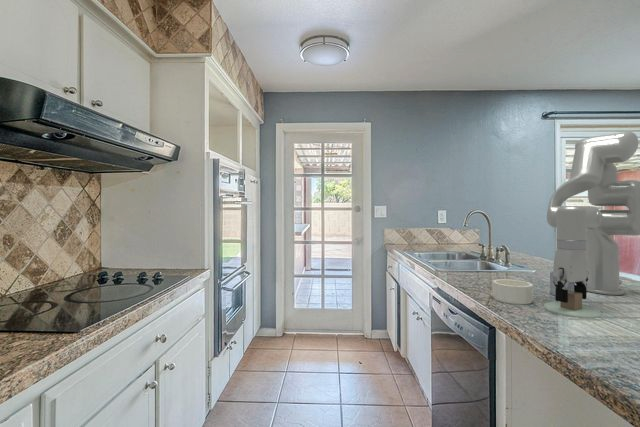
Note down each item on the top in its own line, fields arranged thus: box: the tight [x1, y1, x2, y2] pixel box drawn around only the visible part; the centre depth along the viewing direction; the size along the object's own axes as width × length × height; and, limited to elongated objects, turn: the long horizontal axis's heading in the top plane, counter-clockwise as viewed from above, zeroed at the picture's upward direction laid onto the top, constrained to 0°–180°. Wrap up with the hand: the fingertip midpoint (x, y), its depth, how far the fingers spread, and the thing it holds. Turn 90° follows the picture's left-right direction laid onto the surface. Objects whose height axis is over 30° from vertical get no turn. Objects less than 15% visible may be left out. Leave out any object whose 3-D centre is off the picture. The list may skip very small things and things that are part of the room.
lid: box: [543, 290, 602, 319], centre depth 100 cm, size 14×14×6 cm
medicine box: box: [549, 271, 576, 297], centre depth 116 cm, size 8×4×9 cm, turn 168°
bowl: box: [492, 278, 534, 306], centre depth 113 cm, size 12×12×6 cm
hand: (571, 299), depth 100 cm, fingers open, 9 cm apart
